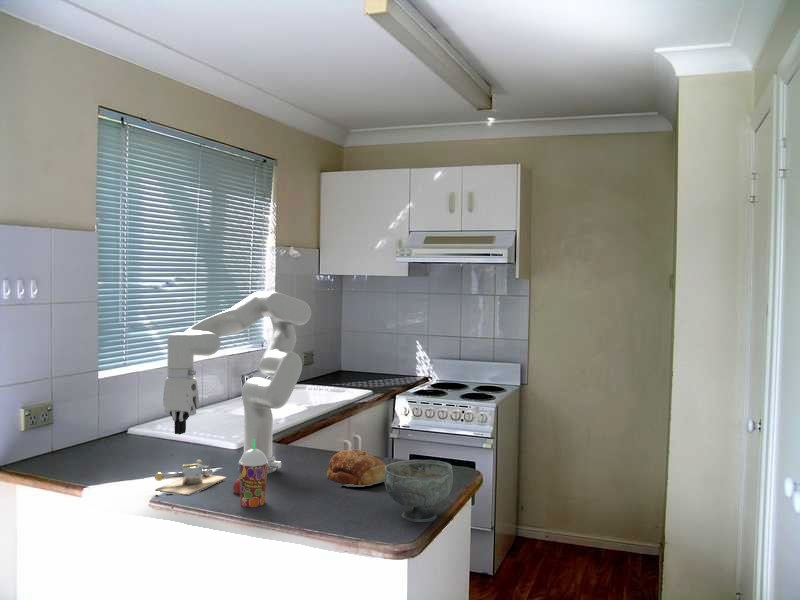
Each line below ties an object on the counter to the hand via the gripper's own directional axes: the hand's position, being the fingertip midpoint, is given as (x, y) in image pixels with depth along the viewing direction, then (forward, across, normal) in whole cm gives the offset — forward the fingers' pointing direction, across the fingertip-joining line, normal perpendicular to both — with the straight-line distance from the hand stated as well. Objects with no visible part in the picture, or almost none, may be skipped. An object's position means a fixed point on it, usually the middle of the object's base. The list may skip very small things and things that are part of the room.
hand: (180, 433), depth 207 cm
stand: (+19, 0, -6) cm, 20 cm away
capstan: (+17, 0, -7) cm, 18 cm away
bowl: (+20, -74, -8) cm, 77 cm away
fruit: (+19, -19, -6) cm, 28 cm away
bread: (+20, -45, -36) cm, 61 cm away
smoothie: (+19, -27, +2) cm, 33 cm away
